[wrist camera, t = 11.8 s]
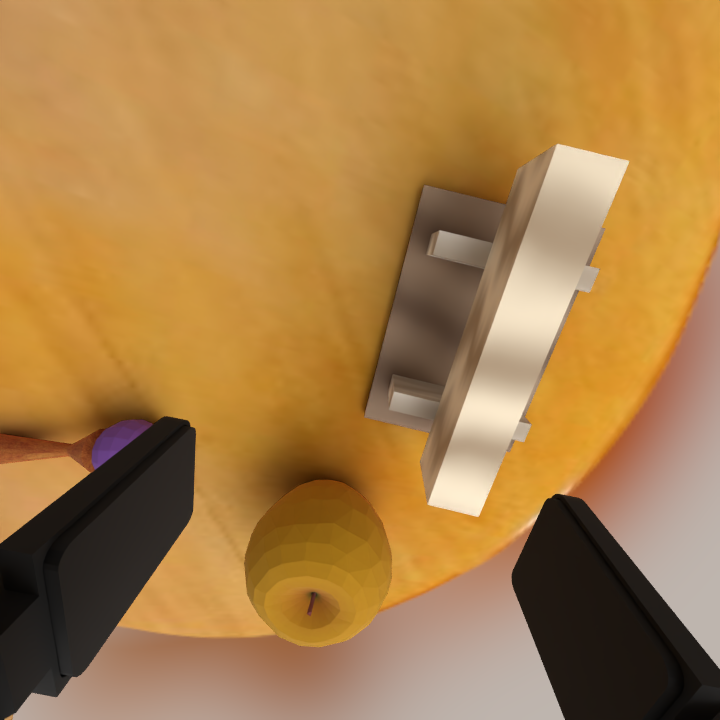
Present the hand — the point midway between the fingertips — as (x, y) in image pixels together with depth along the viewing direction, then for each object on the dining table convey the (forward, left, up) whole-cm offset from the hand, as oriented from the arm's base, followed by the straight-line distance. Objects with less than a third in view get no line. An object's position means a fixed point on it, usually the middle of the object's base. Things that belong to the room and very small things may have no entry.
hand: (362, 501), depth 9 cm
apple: (+20, 0, -22) cm, 30 cm away
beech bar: (-2, +8, -17) cm, 19 cm away
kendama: (+19, -27, -22) cm, 40 cm away
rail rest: (-2, +8, -22) cm, 23 cm away
